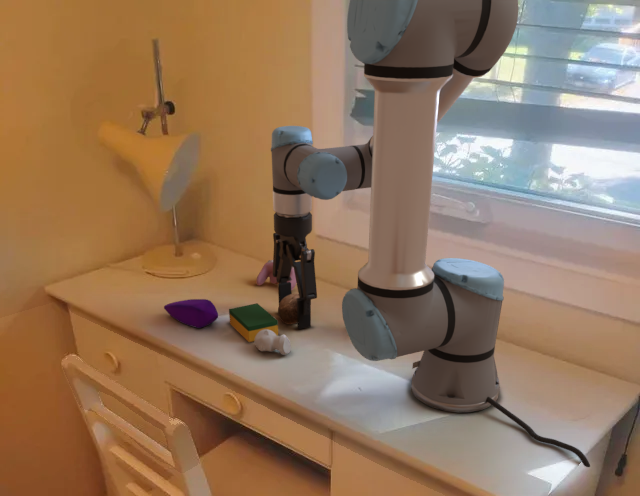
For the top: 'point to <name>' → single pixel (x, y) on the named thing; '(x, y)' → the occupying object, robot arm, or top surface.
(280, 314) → the brown round lump
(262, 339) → the smooth white sculpture
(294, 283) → the video game controller
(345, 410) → the top surface
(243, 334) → the sponge
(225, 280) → the top surface
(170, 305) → the purple rounded wedge
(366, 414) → the top surface
